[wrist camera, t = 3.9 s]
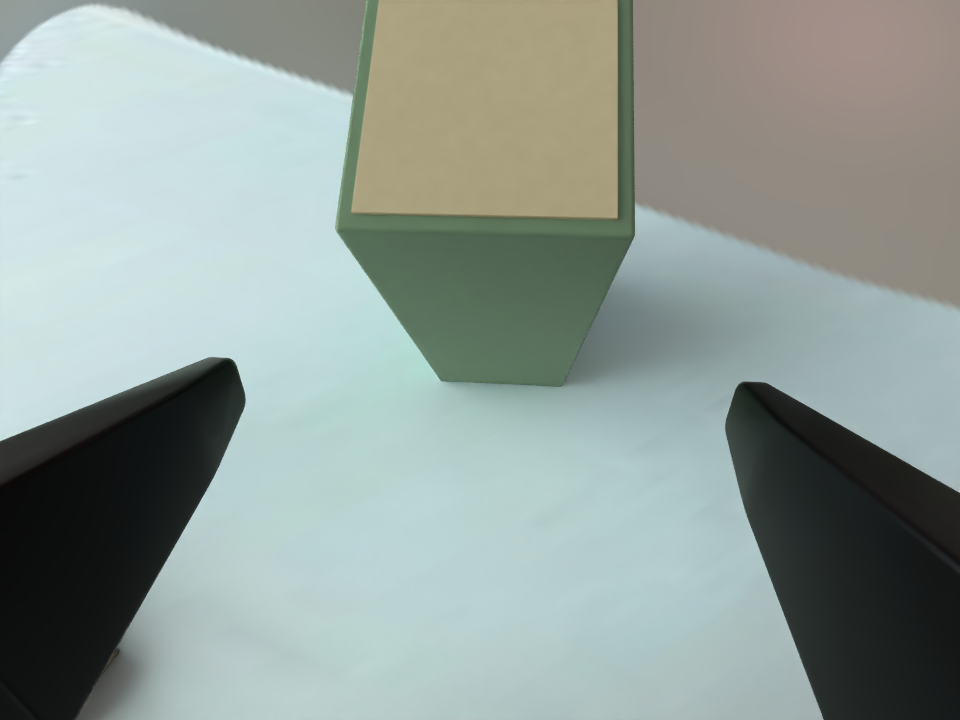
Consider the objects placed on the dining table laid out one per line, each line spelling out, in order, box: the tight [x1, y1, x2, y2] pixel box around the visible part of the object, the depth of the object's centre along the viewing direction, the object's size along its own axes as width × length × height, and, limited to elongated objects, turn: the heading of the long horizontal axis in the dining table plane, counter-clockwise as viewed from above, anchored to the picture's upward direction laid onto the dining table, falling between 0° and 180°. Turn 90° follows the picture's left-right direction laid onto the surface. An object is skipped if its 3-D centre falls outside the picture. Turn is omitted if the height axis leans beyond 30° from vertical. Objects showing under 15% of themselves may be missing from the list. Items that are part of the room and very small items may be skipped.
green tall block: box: [335, 0, 635, 386], centre depth 15 cm, size 5×5×13 cm
